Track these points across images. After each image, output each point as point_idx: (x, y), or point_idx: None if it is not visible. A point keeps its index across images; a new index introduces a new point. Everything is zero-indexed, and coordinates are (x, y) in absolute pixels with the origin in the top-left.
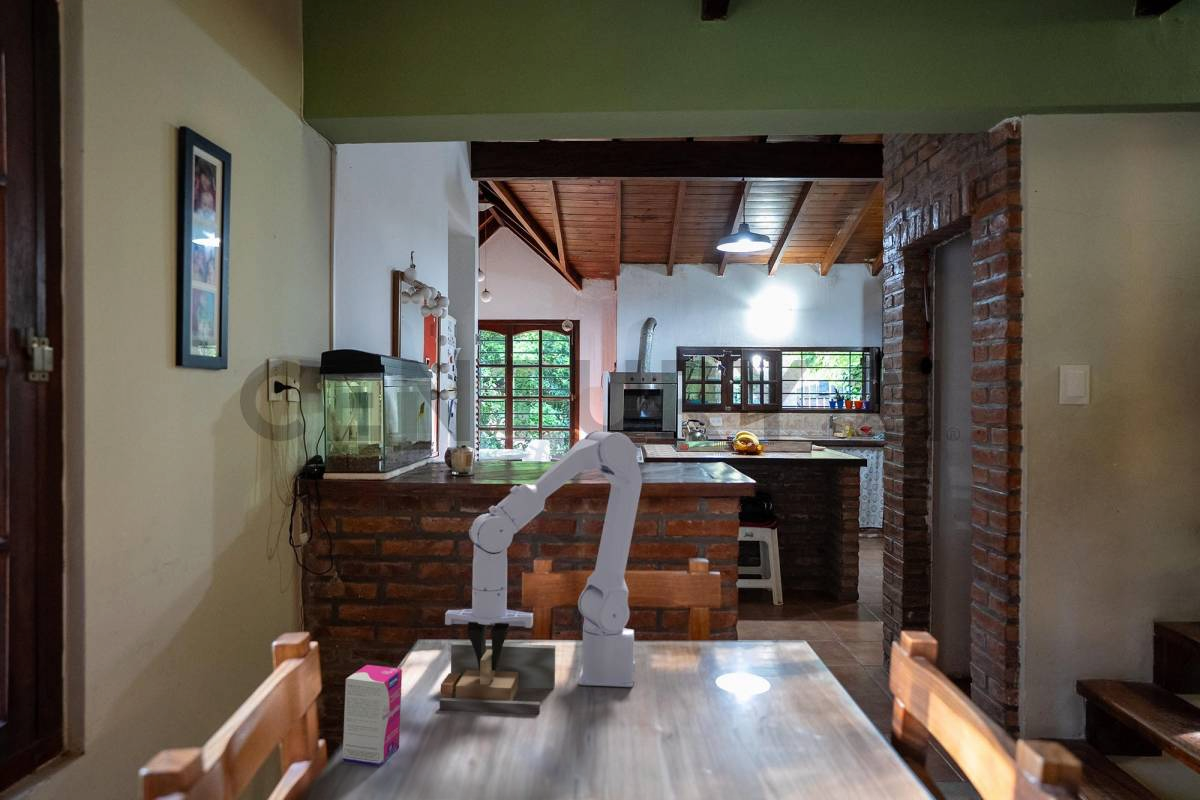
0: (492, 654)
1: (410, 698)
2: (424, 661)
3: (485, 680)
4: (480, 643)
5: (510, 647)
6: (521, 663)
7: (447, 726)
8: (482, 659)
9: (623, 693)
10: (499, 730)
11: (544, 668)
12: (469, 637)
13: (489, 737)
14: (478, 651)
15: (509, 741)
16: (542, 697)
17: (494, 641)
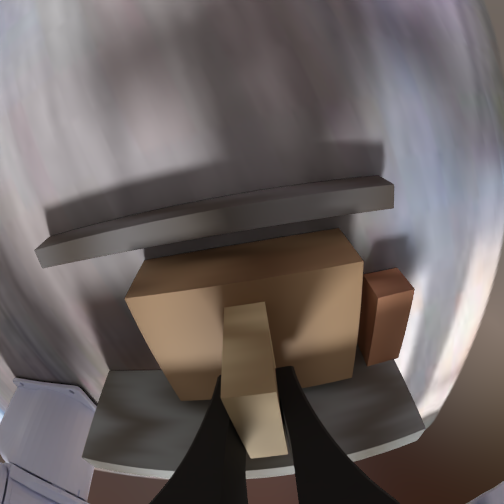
0: (225, 433)
1: (463, 234)
2: (436, 389)
3: (241, 317)
4: (298, 479)
5: None
6: (176, 425)
7: (297, 50)
8: (265, 397)
9: (8, 359)
10: (98, 84)
11: (116, 412)
12: (379, 494)
13: (112, 28)
14: (305, 435)
15: (51, 41)
16: (102, 332)
17: (202, 499)
